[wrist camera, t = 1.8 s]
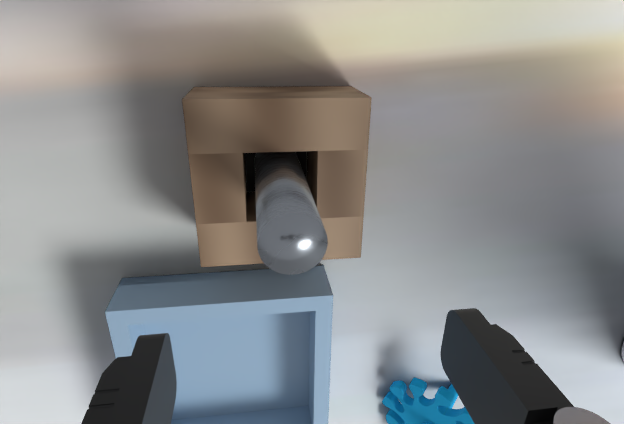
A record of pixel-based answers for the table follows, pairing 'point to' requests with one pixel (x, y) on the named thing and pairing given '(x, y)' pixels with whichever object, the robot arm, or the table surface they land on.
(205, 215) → the pin block
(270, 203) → the peg
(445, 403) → the gear
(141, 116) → the table surface
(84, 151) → the table surface
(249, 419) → the tray
